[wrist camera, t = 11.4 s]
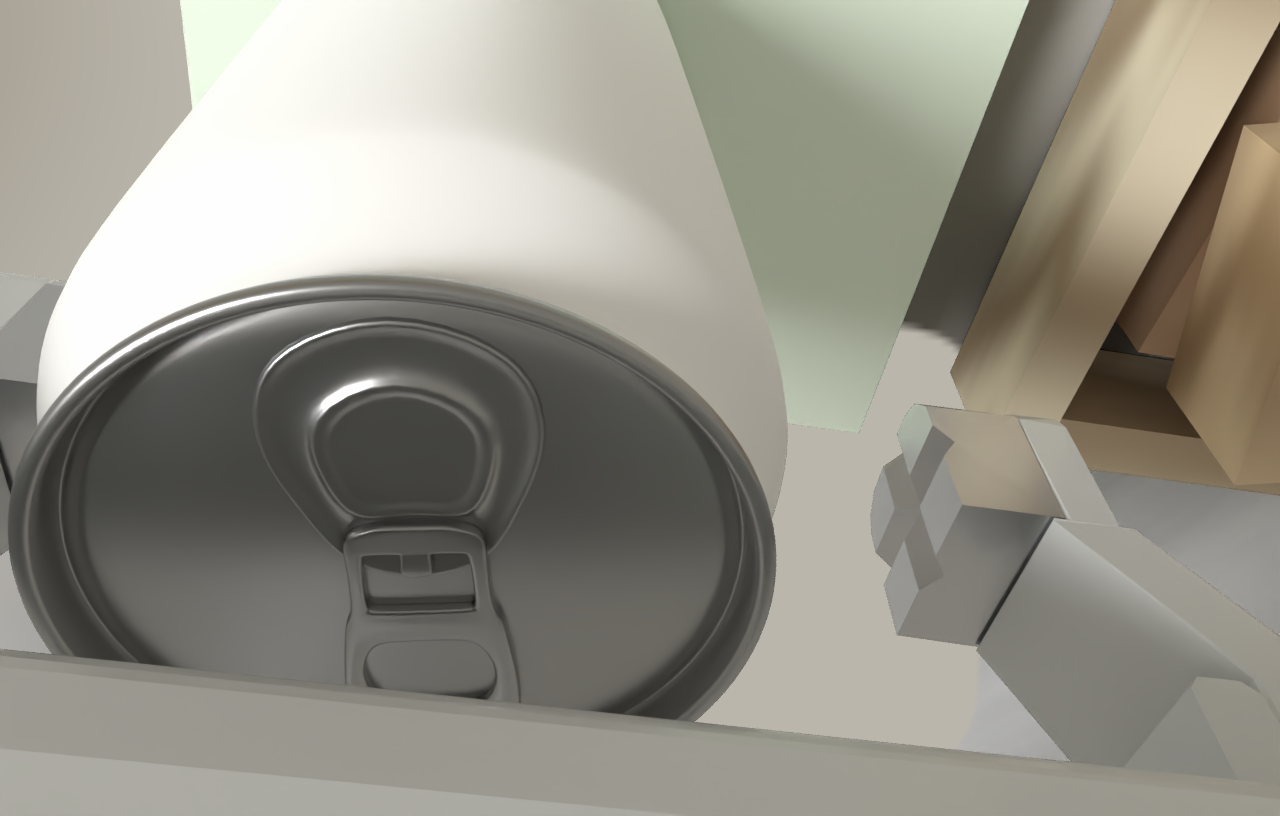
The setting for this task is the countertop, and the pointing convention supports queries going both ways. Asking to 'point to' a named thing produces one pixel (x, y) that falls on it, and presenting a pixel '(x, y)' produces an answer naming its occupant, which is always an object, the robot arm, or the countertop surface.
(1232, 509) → the countertop surface
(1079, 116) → the rack
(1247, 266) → the offcut upper
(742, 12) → the board
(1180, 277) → the offcut lower
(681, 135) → the can
